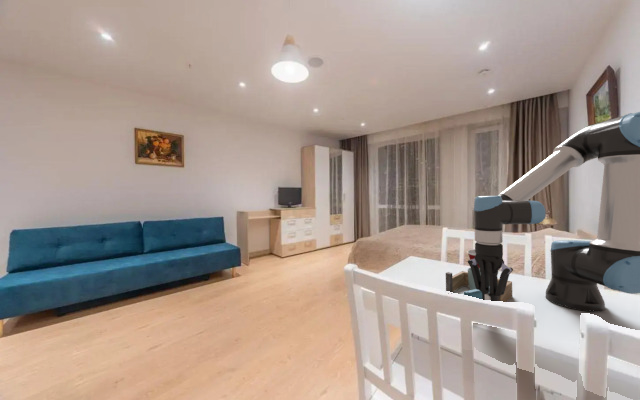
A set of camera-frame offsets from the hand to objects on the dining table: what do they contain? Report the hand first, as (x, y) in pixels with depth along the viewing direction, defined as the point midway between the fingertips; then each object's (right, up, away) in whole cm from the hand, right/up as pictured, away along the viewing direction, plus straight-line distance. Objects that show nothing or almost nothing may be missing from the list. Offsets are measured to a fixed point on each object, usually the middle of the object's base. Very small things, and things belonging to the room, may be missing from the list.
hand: (489, 313), depth 80 cm
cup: (+9, -2, +19) cm, 22 cm away
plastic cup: (+25, -1, +42) cm, 49 cm away
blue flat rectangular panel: (+1, -1, +6) cm, 6 cm away
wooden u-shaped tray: (+9, -1, +19) cm, 22 cm away
